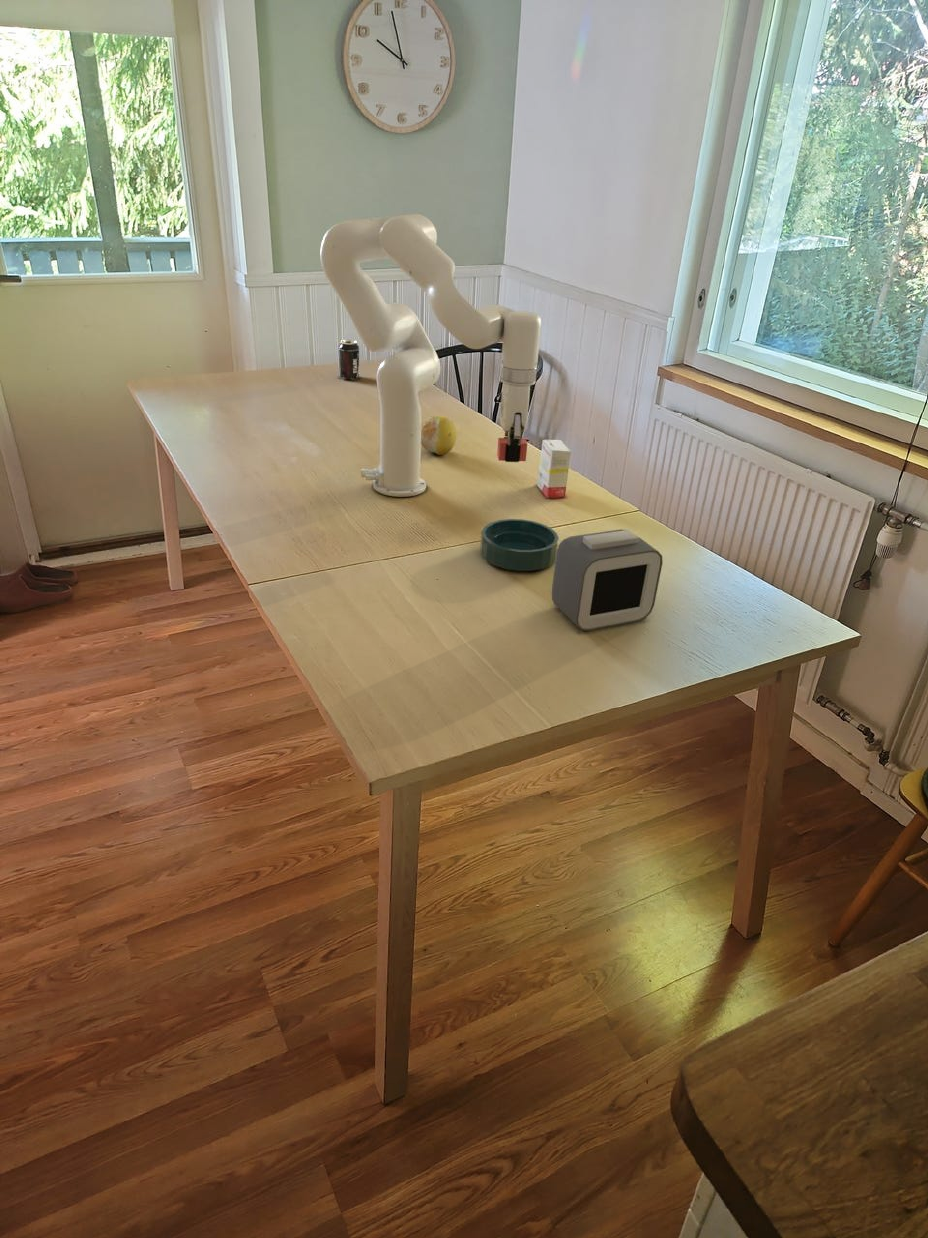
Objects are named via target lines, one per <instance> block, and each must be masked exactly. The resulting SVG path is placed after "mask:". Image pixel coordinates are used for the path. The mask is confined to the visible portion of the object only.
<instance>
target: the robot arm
mask: <svg viewBox="0 0 928 1238" xmlns="http://www.w3.org/2000/svg"><path fill="white" fill-rule="evenodd" d="M437 242H438V233H437V229H436V227H435V225H434V223H433V222H432V221H431V220H430V219H429V218H427V217H426V216H425V215H423V214H419V213H412V214H402V215H396V216H385V217H383V216H382V217H371V218H369V217H368V218H361V219H351V220H344V221H341V222H338V223H336V224H333V226H331V227H330V228H328V230H327V231H326V232H325V234H324V235H323V238H322V241H321V245H320V250H319V251H320V253H319V255H320V263H321V265H320V266H321V269H322V271H323V274H324V276H325V278H326V280H327V281H328V283H329V286H330V287H331V288H332V290H333V291H334V293H335V295H336V296H337V298H338V300H339V301H340V303H341V305H342V306H343V309H344V311H345V313H346V315H347V316H348V318H349V321H350V322H351V325H352V326H353V328H354V330H355V331H356V334H357V335H358V337H359V339H360V340H361V342H362V344H363V346H364V347H365V348H366V349H367V350H368V351H369V352H371V353H374V354H375V353H377V354H380V353H385V352H388V351H391V350H393V351H394V353H393V354H391V355H389V356H388V357H385V359H384V360H383V361H381V362H380V364H379V366H378V368H377V370H376V371H377V372H376V386H377V392H378V399H379V428H380V429H379V440H380V441H379V448H380V449H379V464H378V468H376V467H375V468H374V469H366V468H360V477H361V478H365V481H373V485H372V486H373V489H374V490H375V491H376V492H378V493H379V494H382V495H385V496H389V497H394V498H408V497H415V496H418V495H421V494H423V493H424V492H425V491H426V489H427V482H426V481H425V480H424V479H423V478H421V453H422V445H421V426H422V425H421V424H422V422H423V421H422V420H423V419H422V417H423V416H422V408H421V403H420V400H419V392H421V391H424V390H426V389H428V388H430V387H431V386H433V385H434V384H436V382H437V381H438V380H439V377H440V375H441V361H440V359H439V356H438V353H437V352H436V350H435V347H434V346H433V344H432V342H431V340H430V338H429V336H428V334H427V332H426V330H425V329H424V326H423V325H422V323H421V320H420V319H419V318H418V315H417V314H416V313H415V312H414V310H412V309H411V308H410V307H409V306H408V305H406V304H404V303H401V302H391V303H386V302H385V299H384V298H383V296H382V295H381V293H380V291H379V288H378V287H377V285H376V283H375V282H374V281H373V279H372V278H371V277H370V275H369V274H368V273H366V271H364V270H363V268H362V267H361V264H362V263H363V264H364V263H368V262H373V261H380V260H391V261H392V262H393V263H394V264H395V265H396V266H397V267H398V268H399V269H400V270H401V271H403V272H404V273H405V275H406V276H407V277H409V279H410V280H411V281H413V282H414V283H415V284H416V285H417V286H418V287H419V288H420V289H421V290H422V291H423V292H424V294H425V295H426V297H427V300H428V303H429V306H430V308H431V310H432V312H433V314H434V316H435V317H436V319H437V320H438V322H439V323H440V324H441V325H442V326H443V327H444V328H445V329H446V331H448V333H449V334H450V335H451V336H452V337H453V338H455V339H456V340H457V341H458V342H459V343H461V344H462V345H463V346H465V347H467V348H468V349H472V350H481V349H484V348H486V347H488V346H491V345H494V344H498V343H502V348H501V361H500V373H499V381H500V382H501V383H502V388H501V389H502V391H501V396H500V397H501V398H500V407H499V413H498V415H499V416H498V420H499V423H500V427H501V429H502V431H503V432H504V436H503V438H508V443H506V450H505V461H504V462H506V463H519V462H520V461H519V460H520V450H521V439H522V433H524V432H525V431H526V430H527V425H528V417H529V405H530V397H531V396H530V394H531V393H530V391H531V386H533V385H535V384H536V381H537V371H538V360H539V350H540V340H541V332H542V331H541V330H542V318H541V316H540V315H539V314H537V313H535V312H532V311H527V310H515V309H511V308H509V307H506V306H503V305H501V304H488V305H485V306H482V307H479V308H475V307H474V306H473V304H471V303H470V302H469V301H468V300H467V299H466V298H465V297H464V296H463V294H462V293H461V292H460V290H459V289H458V288H457V286H456V283H455V280H454V274H455V271H456V264H455V262H454V260H453V259H452V258H451V257H450V256H449V255H448V254H447V253H446V252H445V251H443V249H442V248H441V247H439V246H438V245H437Z"/></svg>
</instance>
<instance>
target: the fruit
mask: <svg viewBox="0 0 928 1238" xmlns="http://www.w3.org/2000/svg"><path fill="white" fill-rule="evenodd" d="M421 425H422V426H421V448H423V449H424V450H426V451H427V452H431V453H434V454H436V455H446V454H449V452H451V451H452V450H453V448H454V447H455V445H456V442H457V435H458V433H457V428H456V426H455V424H454V422H453V421H452V419H450V417H447V416H445V415H432V416H430V417H428V418H426V419H424V420H423V421H422V422H421Z"/></svg>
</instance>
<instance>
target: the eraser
mask: <svg viewBox="0 0 928 1238" xmlns="http://www.w3.org/2000/svg"><path fill="white" fill-rule="evenodd" d="M497 439H498V440H497V451H496V456H497V459H498V461H502V462H506V461H505V450H506V443H508V438H504V437H498V438H497ZM527 451H528V442H527V439H526V438H521V450H520V460H519V462H526V461H527Z"/></svg>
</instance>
